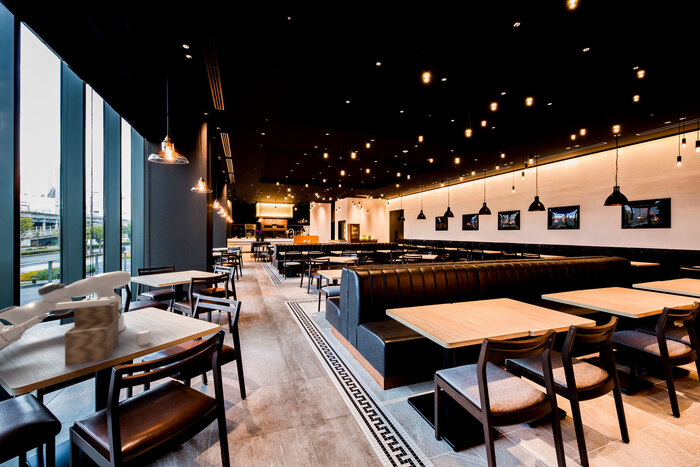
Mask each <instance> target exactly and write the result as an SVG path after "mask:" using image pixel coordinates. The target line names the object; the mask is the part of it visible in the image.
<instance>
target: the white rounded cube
mask: <svg viewBox="0 0 700 467" xmlns="http://www.w3.org/2000/svg"><path fill="white" fill-rule="evenodd" d="M135 335H136V341H137V346H144V345H148V344H149V343H150V340H151V329H141V330H139V331H136V333H135Z"/></svg>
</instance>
